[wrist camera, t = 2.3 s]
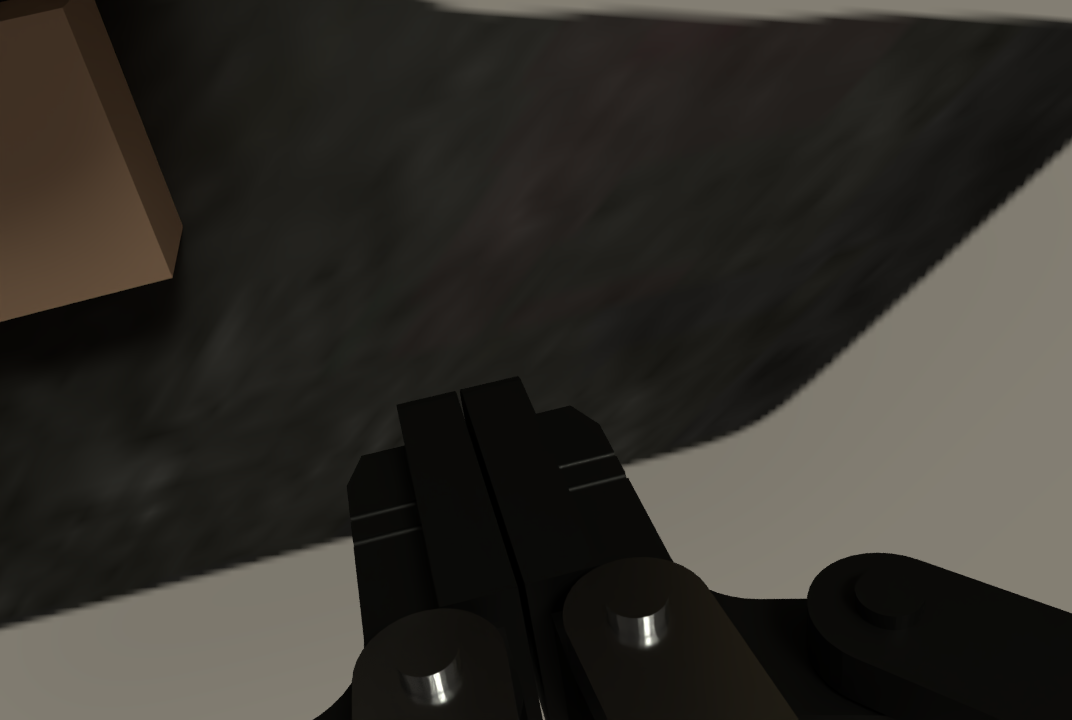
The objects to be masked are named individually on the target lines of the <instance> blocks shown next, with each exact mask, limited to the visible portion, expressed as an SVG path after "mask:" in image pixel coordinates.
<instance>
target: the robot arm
mask: <svg viewBox="0 0 1072 720" xmlns="http://www.w3.org/2000/svg"><path fill="white" fill-rule="evenodd" d="M460 395H461V401H462V407H463V412H464V416H463V413H462V410H461V406H460V403H459V400H458V397H457V394H456V392H455V391H453V392H449V393H445V394H440V395H436V396H432V397H428V398H423V399H419V400H415V401H410V402H406V403H402V404H398V405H397V410H398V415H399V420H400V424H401V429H402V434H403V439H404V443H405V446H401V447H397V448H393V449H388V450H384V451H380V452H376V453H372V454H368V455H363V456H361V458H360V460H359V462H358V464H357V466H356V469H355V471H354V473H353V475H352V477H351V479H350V481H349V483H348V485H347V492H348V501H349V510H350V517H351V528H352V537H353V543H354V555H355V564H356V572H357V582H358V590H359V599H360V608H361V617H362V625H363V635H364V649H363V650H362V652H361V654H360V656H359V658H358V659H357V662H356V665H355V668H354V671H353V678H352V683H351V685H350V686H349V687H348V689H347V690H346V691H345V693H344V694H343V695H342V696H341V697H340V698H339V699H338V700H337V701H336V702H335V703H334V704H333V705H332V706H331V707H330V708H328V709H327V710H326V711H325V712H323V713H322V714H321V715H319V716H318V717H316V718H315V719H313V720H543V719H542V713H541V708H540V703H541V707H542V710H543V713H544V717H545V720H1072V613H1069V612H1066V611H1063V610H1061V609H1058V608H1055V607H1052V606H1049V605H1046V604H1043V603H1041V602H1038V601H1035V600H1032V599H1029V598H1026V597H1023V596H1020V595H1018V594H1015V593H1012V592H1009V591H1006V590H1003V589H1000V588H998V587H995V586H992V585H989V584H986V583H983V582H981V581H978V580H975V579H972V578H969V577H966V576H963V575H961V574H958V573H955V572H952V571H949V570H946V569H943V568H941V567H937V566H935V565H932V564H929V563H926V562H923V561H920V560H918V559H914V558H911V557H907V556H903V555H897V554H890V553H889V554H888V553H865V554H859V555H853V556H850V557H846V558H843V559H840V560H838V561H836V562H834V563H832V564H830V565H829V566H827V567H826V568H825V569H823V570H822V571H821V572H820V573H819V574H818V575H817V576H816V577H815V579H814V580H813V582H812V584H811V586H810V588H809V592H808V595H807V599H744V598H738V597H732V596H728V595H724V594H720V593H717V592H714V591H712V590H709V589H708V587H707V585H706V584H705V583H704V582H703V581H702V580H701V578H700V577H698V576H697V575H696V574H694V573H693V572H692V571H691V570H689V569H687V568H685V567H684V566H682V565H679V564H677V563H674V562H673V560H672V559H671V557H670V555H669V553H668V552H667V550H666V548H665V546H664V544H663V542H662V540H661V539H660V537H659V535H658V533H657V531H656V529H655V527H654V526H653V524H652V522H651V520H650V518H649V516H648V514H647V512H646V510H645V509H644V507H643V505H642V503H641V501H640V499H639V497H638V495H637V494H636V492H635V490H634V488H633V486H632V484H631V482H630V481H629V479H628V478H626V475H625V471H624V469H623V467H622V466H621V464H620V462H619V460H618V458H617V456H615V455H614V451H613V449H612V447H611V445H610V443H609V441H608V439H607V437H606V436H605V434H604V432H603V430H602V428H601V426H600V424H598V423H597V422H595V421H594V420H592V419H590V418H589V417H587V416H586V415H584V414H583V413H581V412H580V411H578V410H577V409H575V408H574V407H572V406H567V407H562V408H558V409H554V410H550V411H546V412H542V413H537V414H536V413H535V411H534V409H533V406H532V404H531V402H530V399H529V397H528V395H527V393H526V390H525V388H524V386H523V384H522V381H521V379H520V378H519V376H516V377H512V378H508V379H503V380H499V381H495V382H491V383H486V384H482V385H478V386H474V387H469V388H465V389H461V390H460ZM464 417H465V419H464ZM539 700H540V703H539Z"/></svg>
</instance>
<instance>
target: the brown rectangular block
mask: <svg viewBox="0 0 1072 720" xmlns="http://www.w3.org/2000/svg"><path fill="white" fill-rule="evenodd" d="M182 229H183V226H182V223H181V220H180V218H179V215H178V213H177V210H176V208H175V205H174V202H173V200H172V197H171V195H170V192H169V190H168V187H167V185H166V182H165V179H164V177H163V174H162V172H161V169H160V167H159V164H158V161H157V159H156V156H155V154H154V151H153V149H152V146H151V143H150V141H149V138H148V136H147V133H146V131H145V128H144V126H143V123H142V120H141V118H140V115H139V113H138V110H137V108H136V105H135V102H134V100H133V97H132V95H131V92H130V90H129V87H128V84H127V82H126V79H125V77H124V74H123V72H122V69H121V67H120V64H119V61H118V59H117V56H116V54H115V51H114V49H113V46H112V43H111V41H110V38H109V36H108V33H107V31H106V28H105V25H104V23H103V20H102V18H101V15H100V13H99V10H98V8H97V5H96V2H95V0H7V1H3V2H0V322H1V321H5V320H9V319H13V318H17V317H21V316H25V315H29V314H33V313H36V312H40V311H44V310H48V309H52V308H56V307H60V306H64V305H68V304H72V303H76V302H80V301H83V300H87V299H91V298H95V297H99V296H103V295H107V294H111V293H115V292H119V291H123V290H127V289H130V288H134V287H138V286H142V285H146V284H150V283H154V282H158V281H162V280H166V279H170V278H173V273H174V268H175V263H176V258H177V253H178V248H179V243H180V238H181V234H182Z"/></svg>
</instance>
